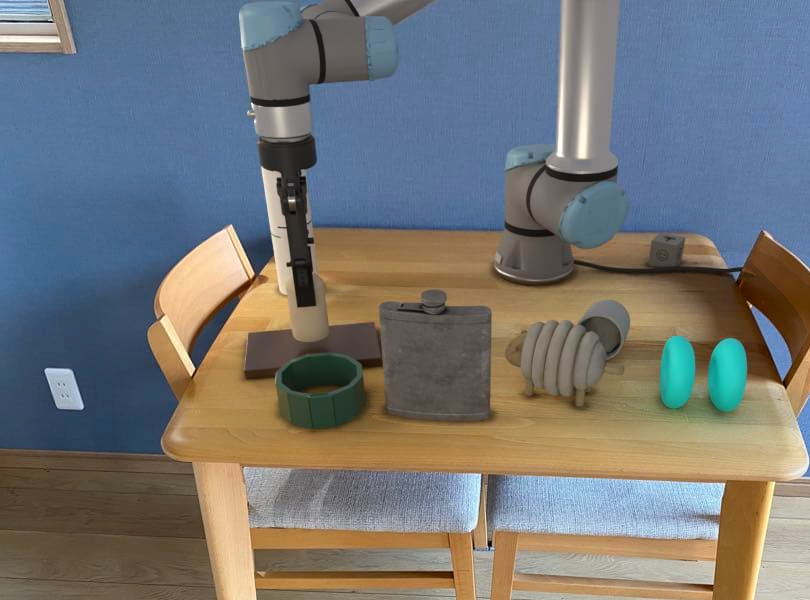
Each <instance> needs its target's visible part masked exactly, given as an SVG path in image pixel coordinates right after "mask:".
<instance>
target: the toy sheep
mask: <svg viewBox="0 0 810 600" xmlns="http://www.w3.org/2000/svg"><path fill="white" fill-rule="evenodd" d="M574 325H575V326H574ZM504 355H505V356H504V357H505V359H506V360H507V362H508V363H509V364H510V365H512V366H514V367H517V368H520V371H521V374H522V376H523V377H524V378H525V379H524V380H525V381H524V395H525V396H526V397H531V396H533V395H534V391H535V388H536V389H538V390H545V392H546V393H547V394H548V395H549V396H551V397H556V396H559V395H561V396H563V397H565V398H567V397H571V396H572V395H573V394H574V393H575V399H574V405H575V406H576V407H578V408H582V407H583V406H584V405H585V396H586V393H589V392H591V391H592V387H593V386H595V385H596V384H598V382H599V381H600V380H601V379H602V377H603V376H604V374H605V373H606V374H610V375H615V376H619V377H621V376H623V375H624V374H625V373H624V372H625V366H624V365H623V364H619V363H616V362H611V361H608V360H607V357H606V352H605V349H604V347H603V345H602V344H601V343H600V341H599V336H598V335H597V334H596V333H595V332H592V331H590V332H587V331H586V329H585V327H584V326H582V325H577V324H574V323H573V322H572V321H571V320H567V319H565V320H562V321H560V322H559V321H558V320H556V319H549V320H548V321H546V322H543V321H535V322H534V323H533V324H532V325H530V327H529V329H528V330H526V329H522V330H521V331H520V334H519V335H517V336H516V337H514V338H513V339H511V341H510V342H509V343H508V344H507V345H506V348H505V351H504Z"/></svg>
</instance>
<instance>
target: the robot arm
mask: <svg viewBox="0 0 810 600" xmlns="http://www.w3.org/2000/svg"><path fill="white" fill-rule="evenodd" d="M437 1H438V0H324V1H322V2H319V3H312V4H307V5H304V6H301V7H300V6H299V5H298V4H297V3H295V2H291V1H256V2H249V3H246V4H243V6H242V7H240V9H239V11H238V20H239V31H240V43H241V44H240V48H241V49H242V55H243V62H244V67H245V73H246V78H247V86H248V91H249V97H250V104H251V108H252V109H249V110H247V117H248V118H250V119H254V120H253V123H254V124H253V125H254V131H255V134H256V135H257V136H258V138H257V140H256V146H257V152H258V153H257V154H258V160H259V164H260V167H261V166H262V167H263V168H264V169H266V170H269V171H277V172H279V173H281V177H278V178H277V183H276V186H277V194H278V196H279V197H280V203H281V211H282V215H283V216H285V222H286V229H287V236H288V244H289V251H290V258H291V261H290V262H287V263H286V265H287V267H292V273H293V280H294V287H295V294H296V301H297V308H300V307H312V306H316V298H315V290H314V282H313V274H312V271H313V264H312V256H311V248H310V246H308V244H314V243H315V236H314V237H311V238H308V234H309V230H308V229H307V221H306V214H307V197H306V194H307V184H308V182H307V183H306V176H307V175H306V176H301V175H302V172H301V170H303V169H304V170H306V171H307V170H310V169H311V168H313V167H315V166H316V165H317V163H318V156H317V146H316V138H315V137H314V136H313V134H312V133H313V132H314V131H315V123H314V115H313V106H312V99H311V94H310V93H311V92H310V86H311V85H322V84H336V83H348V82H349V83H351V82H362V81H369V82H373V81H375V80H381V79H387V78H391V77H392V76H394V74H395V73H396V71H397V69H398V65H399V60H400V48H399V47H400V45H399V40H398V35H397V32H396V28H395V27H396V26H397V27H398V25H400V24H401V23H403V22H405V21H407V20H408V19H409V18H411V17H414V15H416V14H418V13H420V12H421V11H423V10H425V9H426V8H427V7H429V6H430V5H432V4H434V3H436V2H437ZM620 11H621V0H559V27H558V32H559V33H558V57H557V58H558V59H557V89H556V92H557V93H556V118H555V121H556V122H555V143H533V144H525V145H519V146H516V147H514V148H511V149H509V151H508V152H507V154H506V158H505V166H504V173H505V177H504V178H505V179H504V225H503V232H502V235H501V238H500V241H499V243H498V246H497V248H496V252H495V254H494V259H493V271H494V273H495V274H496V275H497V276H498V277H500V278H501V279H503V280H505V281H508V282H512V283H514V284H519V285H527V286H545V285H547V286H548V285H552V284H558V283H561V282H564V281H566V280H567V279H569V278H570V277H572V276H573V274H574V271H575V270H574V269H575V265H576V266H581V267H586V268H590V269H595V270H599V271H603V272H612V273H622V274H623V273H627V274H651V273H652V274H654V273H667V272H677V271H680V272H681V271H682V272H683V271H684V272H685V271H686V272H688V271H689V272H705V273H718V274H731V273H732V274H733V273H739V272H742V269H743V267H744V266H736V267H731V268H730V267H729V268H721V267H720V268H719V267H706V266H693V265H692V266H690V265H684V266H683V265H678V266H674V267H662V268H659V267H650V268H649V267H648V268H647V267H646V268H637V267H636V268H628V267H614V266H613V267H612V266H607V265H600V264H595V263H591V262H588V261H582V260H578V259H574V255H573V251H572V247H571V245H572V246H574V247H575V248H579V249H582V250H583V249H584V250H591V249H596V248H599V247H602V246H603V245H605V244H607V243H609V242H610V241H611V240H613V238H614V237H615V235H616V234H617V233H619V232H620V231H621V229H622V228H623V226H624V224H625V223H626V220H627V218H628V214H629V209H630V200H629V195H628V193H627V192H626V190H625V189H624V187H623V186H622V185H621V184H619V183H618V172H619V171H618V170H619V160H618V158H617V156H615V154H614V153H613V152H612V151H611V135H612V124H613V123H612V121H613V108H614V92H615V81H616V80H615V79H616V68H617V67H616V65H617V52H618V51H617V50H618V36H619V24H620V22H619V21H620Z"/></svg>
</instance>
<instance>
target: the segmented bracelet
mask: <svg viewBox="0 0 810 600" xmlns="http://www.w3.org/2000/svg"><path fill="white" fill-rule="evenodd" d="M274 382H275V390H276V395H277V403H278V407H279V414H280V416H281V417H283V419H285V420H286V421H288V423H289V424H291V425H293V426H297V427H302V428H305V429H311V430H315V429H324V428H335V427H339V426H341V425H343V424H346V423H348V422H350V421H352V420H354V419H356V418H357V417H358V416H359V415H360V414H361V413H362V411H363V410H364V409H365V408H366V406H367V401H366V390H365V389H366V388H365V380H364V372H363V368H362V364H361V363H359V362H358V361H356V360H355V359H353V358H352V357H350V356H348V355H343V354H337V353H332V352H325V353H315V354H308V355H304V356H301V357H298V358H296V359H293V360H290V361H288V362H287V363H286V364H284V365H283V366H282V367H281V368H280V369H279V370H278V371H277V372H276V376H275V381H274ZM321 386H323V387H324V386H335V387H339V388H338V389H337V388H336V389H335V390H332V391H329V392H317V393H307V392H302V391H305V390H308V389H310V388H313V387H321Z"/></svg>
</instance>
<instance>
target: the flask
mask: <svg viewBox="0 0 810 600" xmlns="http://www.w3.org/2000/svg"><path fill="white" fill-rule="evenodd" d="M447 301H448V294H447V292H446V291H444V290H442V289H436V288H435V289H427V290H424V291H422V292H421V293H420V302H410V301H409V302H408V301H407V302H406V301H396V300H395V301H394V300H387V301H383V302H380V304H379V305H378V316H379V329H380V343H381V358H382V366H383V367H382V369H383V382H384V394H385V408H386V412H387V414H389V415H391V416H397V417H403V418H409V419H415V420H416V419H418V420H428V421H444V422H477V421H478V422H479V421H485V420H488V419H489V418H490V416H491V381H492V380H491V378H492V377H491V375H492V374H491V372H492V369H491V368H492V315H493V314H492V312H493V311H492V308H491V307H489V306H486V305H446V302H447Z"/></svg>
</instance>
